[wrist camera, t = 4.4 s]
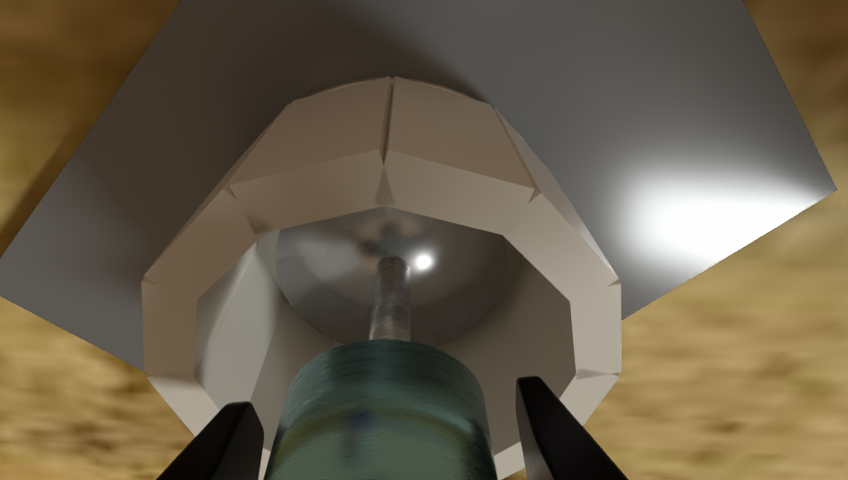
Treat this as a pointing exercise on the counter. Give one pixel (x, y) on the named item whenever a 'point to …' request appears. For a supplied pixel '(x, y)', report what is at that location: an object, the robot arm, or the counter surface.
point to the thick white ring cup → (366, 189)
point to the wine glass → (387, 348)
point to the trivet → (460, 70)
